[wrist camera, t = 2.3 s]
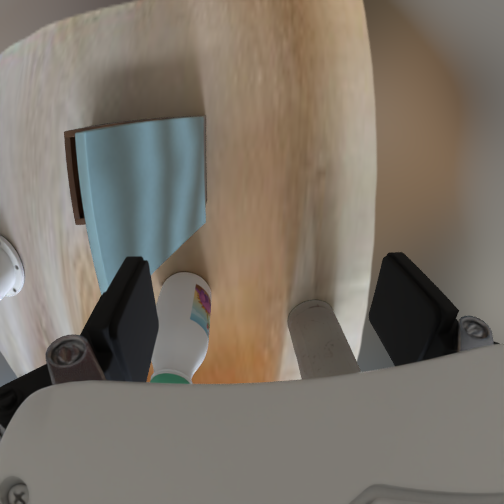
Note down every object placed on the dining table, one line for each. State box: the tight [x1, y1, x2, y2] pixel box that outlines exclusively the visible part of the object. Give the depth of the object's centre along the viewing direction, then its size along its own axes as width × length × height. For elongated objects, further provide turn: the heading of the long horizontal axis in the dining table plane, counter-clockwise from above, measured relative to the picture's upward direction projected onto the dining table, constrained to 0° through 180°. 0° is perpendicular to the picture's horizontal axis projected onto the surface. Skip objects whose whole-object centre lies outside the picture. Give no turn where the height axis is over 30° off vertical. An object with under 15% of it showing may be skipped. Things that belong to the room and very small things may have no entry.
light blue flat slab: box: [75, 116, 206, 294], centre depth 23 cm, size 16×11×1 cm
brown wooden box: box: [64, 116, 207, 225], centre depth 33 cm, size 16×11×8 cm
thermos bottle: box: [288, 300, 361, 379], centre depth 38 cm, size 8×8×28 cm
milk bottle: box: [150, 272, 211, 384], centre depth 37 cm, size 8×8×20 cm
